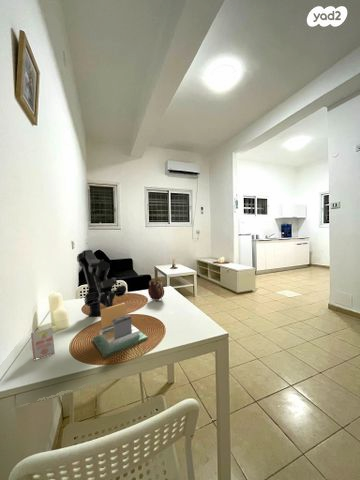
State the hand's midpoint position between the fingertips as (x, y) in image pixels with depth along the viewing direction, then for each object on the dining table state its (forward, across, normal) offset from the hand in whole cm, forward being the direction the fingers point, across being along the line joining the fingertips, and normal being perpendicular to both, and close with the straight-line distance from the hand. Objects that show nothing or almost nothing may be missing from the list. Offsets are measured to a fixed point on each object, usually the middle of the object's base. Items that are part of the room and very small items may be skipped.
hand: (111, 310), depth 91 cm
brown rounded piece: (-7, +36, +22) cm, 43 cm away
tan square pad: (+6, 0, +2) cm, 7 cm away
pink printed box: (+6, -26, +10) cm, 29 cm away
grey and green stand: (+13, 0, +2) cm, 13 cm away
